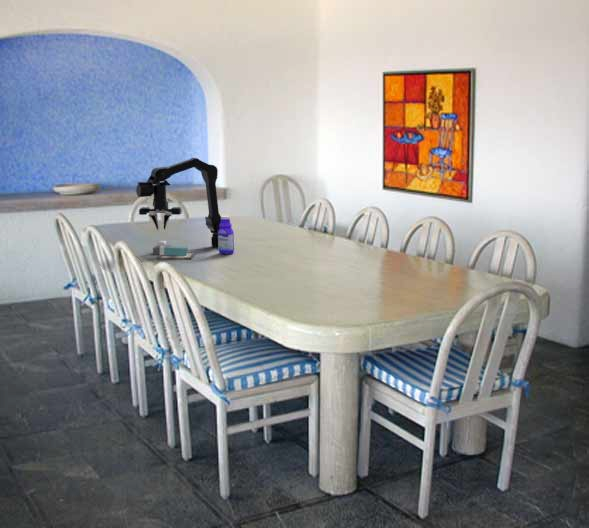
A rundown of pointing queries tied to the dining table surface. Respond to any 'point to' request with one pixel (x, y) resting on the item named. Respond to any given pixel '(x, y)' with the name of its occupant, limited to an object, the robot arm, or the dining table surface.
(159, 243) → the button
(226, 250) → the bottle
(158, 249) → the button base
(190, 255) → the wooden picture frame
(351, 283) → the dining table surface
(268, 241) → the dining table surface
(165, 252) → the teal and white bar
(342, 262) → the dining table surface
